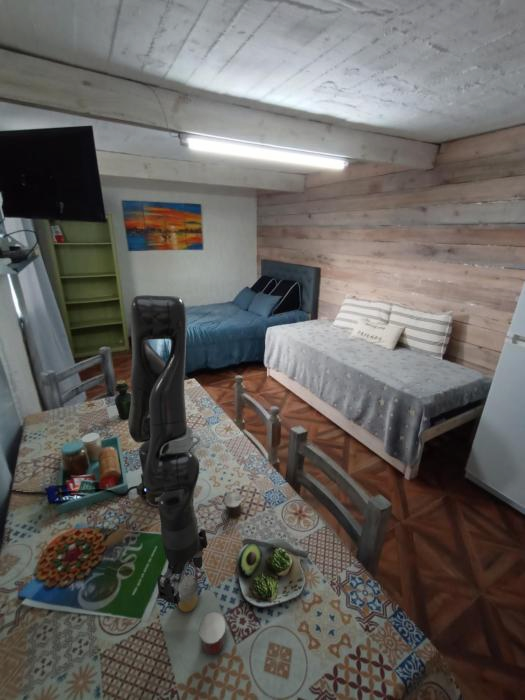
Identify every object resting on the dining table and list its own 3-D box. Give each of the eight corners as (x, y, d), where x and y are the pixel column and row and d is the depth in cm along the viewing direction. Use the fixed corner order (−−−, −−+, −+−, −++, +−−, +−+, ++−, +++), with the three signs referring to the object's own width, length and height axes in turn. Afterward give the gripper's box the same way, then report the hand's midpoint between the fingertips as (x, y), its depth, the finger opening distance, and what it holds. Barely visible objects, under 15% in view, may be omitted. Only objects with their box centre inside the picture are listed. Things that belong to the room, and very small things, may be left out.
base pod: (221, 514, 99) (220, 502, 97) (230, 501, 103) (230, 489, 101) (237, 521, 96) (236, 509, 95) (245, 507, 101) (245, 495, 99)
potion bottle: (139, 412, 153) (134, 378, 146) (129, 421, 145) (123, 387, 139) (124, 410, 154) (118, 377, 148) (114, 419, 147) (107, 385, 140)
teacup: (161, 453, 125) (158, 436, 122) (177, 437, 134) (176, 421, 131) (191, 462, 120) (189, 445, 117) (206, 445, 130) (204, 429, 127)
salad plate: (298, 532, 93) (298, 520, 91) (322, 596, 77) (323, 584, 75) (232, 545, 89) (232, 534, 87) (243, 617, 73) (243, 604, 71)
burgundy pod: (195, 648, 67) (193, 634, 66) (210, 621, 72) (208, 607, 70) (217, 663, 65) (216, 649, 63) (231, 633, 70) (230, 619, 68)
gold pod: (171, 607, 75) (168, 593, 73) (185, 584, 79) (184, 571, 78) (190, 618, 72) (188, 605, 71) (204, 594, 77) (203, 581, 75)
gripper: (186, 502, 75) (192, 550, 81) (142, 554, 63) (152, 606, 69) (213, 513, 72) (217, 562, 78) (172, 570, 60) (180, 623, 66)
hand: (187, 583), depth 73 cm, fingers open, 8 cm apart
